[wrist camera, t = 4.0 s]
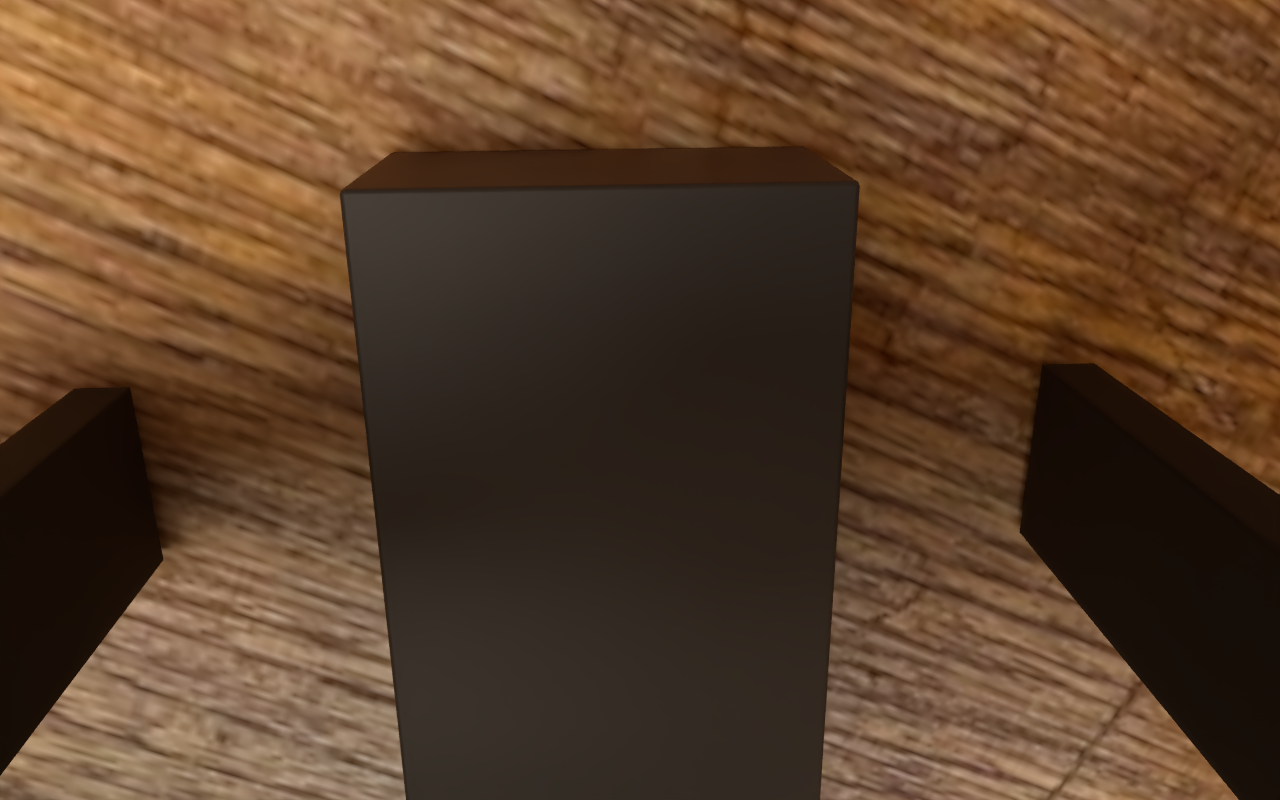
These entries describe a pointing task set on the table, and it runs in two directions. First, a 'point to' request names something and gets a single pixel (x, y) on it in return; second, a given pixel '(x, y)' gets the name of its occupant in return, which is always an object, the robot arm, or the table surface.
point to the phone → (606, 463)
